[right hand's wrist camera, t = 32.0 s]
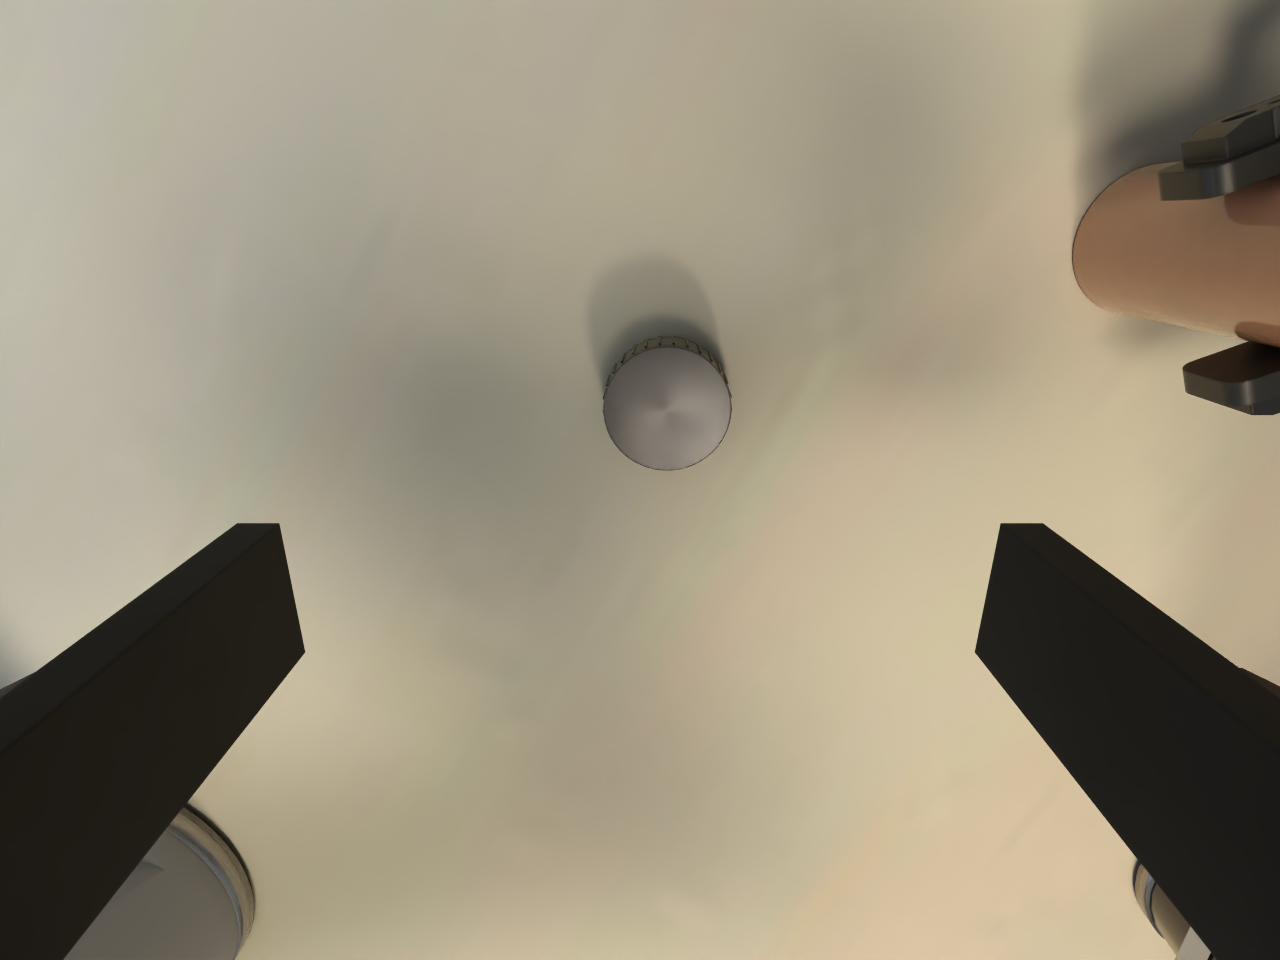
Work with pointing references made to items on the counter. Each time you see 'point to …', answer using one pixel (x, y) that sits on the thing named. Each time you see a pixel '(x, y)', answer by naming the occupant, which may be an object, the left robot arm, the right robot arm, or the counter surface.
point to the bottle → (1185, 257)
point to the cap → (667, 404)
